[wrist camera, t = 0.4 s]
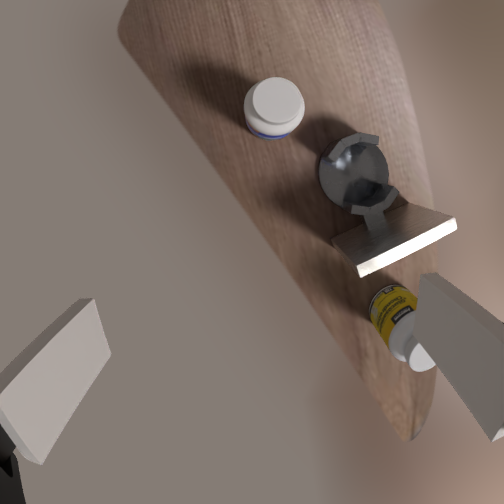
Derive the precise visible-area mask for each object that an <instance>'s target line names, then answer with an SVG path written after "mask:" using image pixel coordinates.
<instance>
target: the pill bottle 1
mask: <svg viewBox="0 0 504 504" xmlns="http://www.w3.org/2000/svg"><path fill="white" fill-rule="evenodd" d="M304 110H305V105H304V100H303V97H302V95H301V93H300V91H299V90H298V88H297V87H296V86H295V85H294V84H293V83H292V82H291V81H289V80H287V79H285V78H280V77H271V78H267V79H265V80H262V81H260V82H258V83H256V84H255V85H254V86H253V87H251V89H250V90H249V91H248V93H247V94H246V97H245V100H244V113H245V120H246V124H247V126H248V128H249V130H250V131H251V132H252V134H254V135H255V136H256V137H258V138H260V139H262V140H266V141H275V140H279V139H282V138H284V137H285V136H287V135H288V134H289V133H290V132H291V131H293V130H294V129H295V128H296V127H297V126H298V125H299V123H300V122H301V120H302V118H303V115H304Z"/></svg>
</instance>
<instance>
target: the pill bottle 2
mask: <svg viewBox="0 0 504 504" xmlns="http://www.w3.org/2000/svg"><path fill="white" fill-rule="evenodd" d="M417 301H418V298H416V297H415V296H414V295H413V294H412V293H411V292H410V291H409V290H408V289H407V288H405V287H403V286H400V285H390V286H387V287H385V288H383V289H382V290H380V291H379V292H378V293H377V294H376V295H375V296H374V298H373V300H372V302H371V304H370V308H369V316H370V319H371V322H372V323H373V325H374V326H375V328H376V330H377V331H378V333H379V334H380V336H381V337H382V339H383V341H384V342H385V344H386V345H387V347H388V349H389V350H390V352H391V353H392V355H393V356H394V357H395V358H397V359H398V360H401V361H405V362H407V363H408V364H409V366H410V367H411V368H412V369H413V370H415V371H426V370H428V369H430V368H432V367H433V366H435V365H436V364H435V362H434V361H433V360H432V359H431V357H430V356H429V355H428V353H427V352H426V351H425V350H424V348H423V347H422V346H421V344H420V343H419V342H418V341H417V339H416V338H415V337H414V336H413V334H412V333H413V327H414V321H415V314H416V308H417Z"/></svg>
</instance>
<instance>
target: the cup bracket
mask: <svg viewBox="0 0 504 504" xmlns="http://www.w3.org/2000/svg"><path fill="white" fill-rule="evenodd" d="M378 141H379V136H375V135H370V134H365V133H356V134H352V135H349V136H346V137H343V138H341V139H338V140H336V141H333V142H332V143H330V144H329V146H328V147H327V148H326V150H325V151H324V153H323V154H322V155H321V157H320V158H321V159H320V163H319V169H318V175H319V181H320V184H321V187H322V189H323V191H324V193H325V194H326V196H327V197H328V198H329V199H330V200H331V201H332V202H334V203H335V204H336V205H338V206H340V207H341V208H342V209H344V210H346V211H347V212H349V213H351V214H358V215H360V217H361V220H362V223H363V224H361V225H359V226H357V227H355V228H352V229H350V230H348V231H346V232H344V233H341V234H339V235H337V236H335V237H333V238H330V239H331V241H332V244H333V247H334V248H335V249H336V250H337V252H338V253H339V254H340V255H341V256H342V257H343V258H344V260H345V261H346V262H347V263H348V264H349V265H350V266H351V267H352V269H353V270H354V271H355V272H356V273H357V274H358V276H359V277H360V278H361V277H363V276H365V275H367V274H370V273H372V272H374V271H376V270H378V269H380V268H382V267H384V266H386V265H388V264H390V263H392V262H394V261H396V260H398V259H400V258H402V257H404V256H406V255H408V254H410V253H412V252H414V251H416V250H418V249H420V248H422V247H424V246H426V245H428V244H430V243H432V242H434V241H436V240H437V239H439V238H441V237H443V236H445V235H447V234H449V233H451V232H452V231H454V230H456V229H457V225H456V221H455V217H453V216H450V215H447V214H444V213H441V212H437V211H434V210H431V209H428V208H425V207H422V206H419V205H415V204H412V203H407V204H405V205H403V206H400V207H398V208H396V209H394V210H392V211H390V212H387V213H385V214H384V213H383V210H385V209H387V208H388V207H389V206H390V205H391V204H392V202H393V201H394V199H395V198H396V196H397V195H398V194H399V191H398V190H397V189H396V188H395V187H394V186H389V185H387V184H388V177H389V172H388V165H387V162H386V159H385V157H384V155H383V153H382V152H381V151H380V149H379V148H378V147H377V146H376V145H378Z"/></svg>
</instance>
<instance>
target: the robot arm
mask: <svg viewBox="0 0 504 504" xmlns="http://www.w3.org/2000/svg"><path fill="white" fill-rule="evenodd" d="M412 334H413V336H414V337H415V338H416V339H417V341H418V342H419V343H420V344H421V346H422V347H423V348H424V350H425V351H426V352H427V353H428V355H429V356H430V357H431V359H432V360H433V361H434V362H435V364H436V365H437V366H438V368H439V369H440V370H441V371H442V373H443V374H444V376H445V377H446V378H447V380H448V381H449V382H450V383H451V385H452V386H453V388H454V389H455V390H456V392H457V393H458V395H459V396H460V397H461V399H462V400H463V402H464V403H465V404H466V406H467V407H468V409H469V410H470V411H471V413H472V414H473V416H474V417H475V419H476V420H477V422H478V423H479V424H480V426H481V427H482V429H483V430H484V432H485V433H486V435H487V436H488V438H489V439H490V441H491V442H493V441H495V440H496V439H498V438H500V437H502V436H504V323H503V322H501V321H500V320H498V319H497V318H496V317H495V316H493V315H492V314H491V313H490V312H488V311H487V310H486V309H484V308H483V307H482V306H480V305H479V304H478V303H477V302H475V301H474V300H473V299H471V298H470V297H469V296H467V295H466V294H465V293H463V292H462V291H461V290H459V289H458V288H457V287H455V286H454V285H453V284H451V283H450V282H448V281H447V280H446V279H444V278H443V277H441V276H440V275H439V274H437V273H436V272H435V273H428V274H421V275H420V284H419V293H418V301H417V308H416V314H415V321H414V327H413V333H412ZM110 356H111V352H110V349H109V346H108V343H107V340H106V337H105V334H104V331H103V328H102V324H101V321H100V318H99V315H98V311H97V307H96V304H95V301H94V298H90V299H89V298H88V299H79V300H78V301H77V302H75V303H74V304H73V305H72V306H71V307H69V308H68V309H67V310H66V311H65V312H64V313H63V314H62V315H61V316H59V317H58V318H57V319H56V320H55V321H54V322H53V323H52V324H51V325H50V326H48V327H47V328H46V329H45V330H44V331H43V332H42V333H41V334H40V335H39V336H38V337H37V338H36V339H35V340H34V341H33V342H31V343H30V344H29V345H28V346H27V347H26V348H25V349H24V350H23V351H22V352H21V353H20V354H19V355H18V356H17V357H16V358H15V359H14V360H13V361H12V362H11V363H10V364H9V365H8V366H7V367H6V368H5V369H4V370H3V371H2V372H1V373H0V504H26V502H25V498H24V494H23V489H22V484H21V479H20V473H19V467H18V461H17V458H16V456H15V455H14V453H13V450H14V449H15V447H17V449H18V450H19V451H20V452H21V454H22V455H23V456H24V457H25V459H27V460H30V461H32V462H35V463H37V464H40V465H42V464H43V462H44V460H45V458H46V457H47V455H48V453H49V451H50V450H51V448H52V447H53V445H54V443H55V442H56V440H57V438H58V437H59V435H60V433H61V432H62V430H63V428H64V427H65V425H66V423H67V422H68V420H69V419H70V417H71V415H72V414H73V412H74V411H75V409H76V408H77V406H78V404H79V403H80V401H81V399H82V398H83V397H84V395H85V394H86V392H87V390H88V389H89V387H90V386H91V384H92V383H93V381H94V380H95V378H96V377H97V375H98V374H99V372H100V371H101V369H102V368H103V366H104V365H105V363H106V362H107V360H108V359H109V357H110Z"/></svg>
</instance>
